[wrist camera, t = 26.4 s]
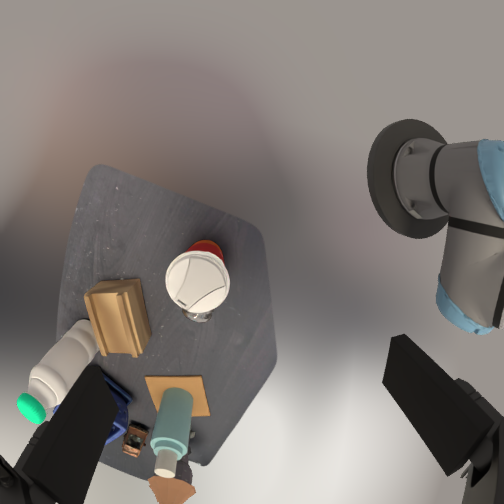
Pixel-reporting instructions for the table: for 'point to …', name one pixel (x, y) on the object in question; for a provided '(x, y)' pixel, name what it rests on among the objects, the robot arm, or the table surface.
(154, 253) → the table surface
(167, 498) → the model tower
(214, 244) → the paper cup
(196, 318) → the metal grooved wheel
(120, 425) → the flower pot
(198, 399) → the cork mat
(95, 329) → the birch block
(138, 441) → the toy car
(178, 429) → the plastic bottle
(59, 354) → the water bottle
